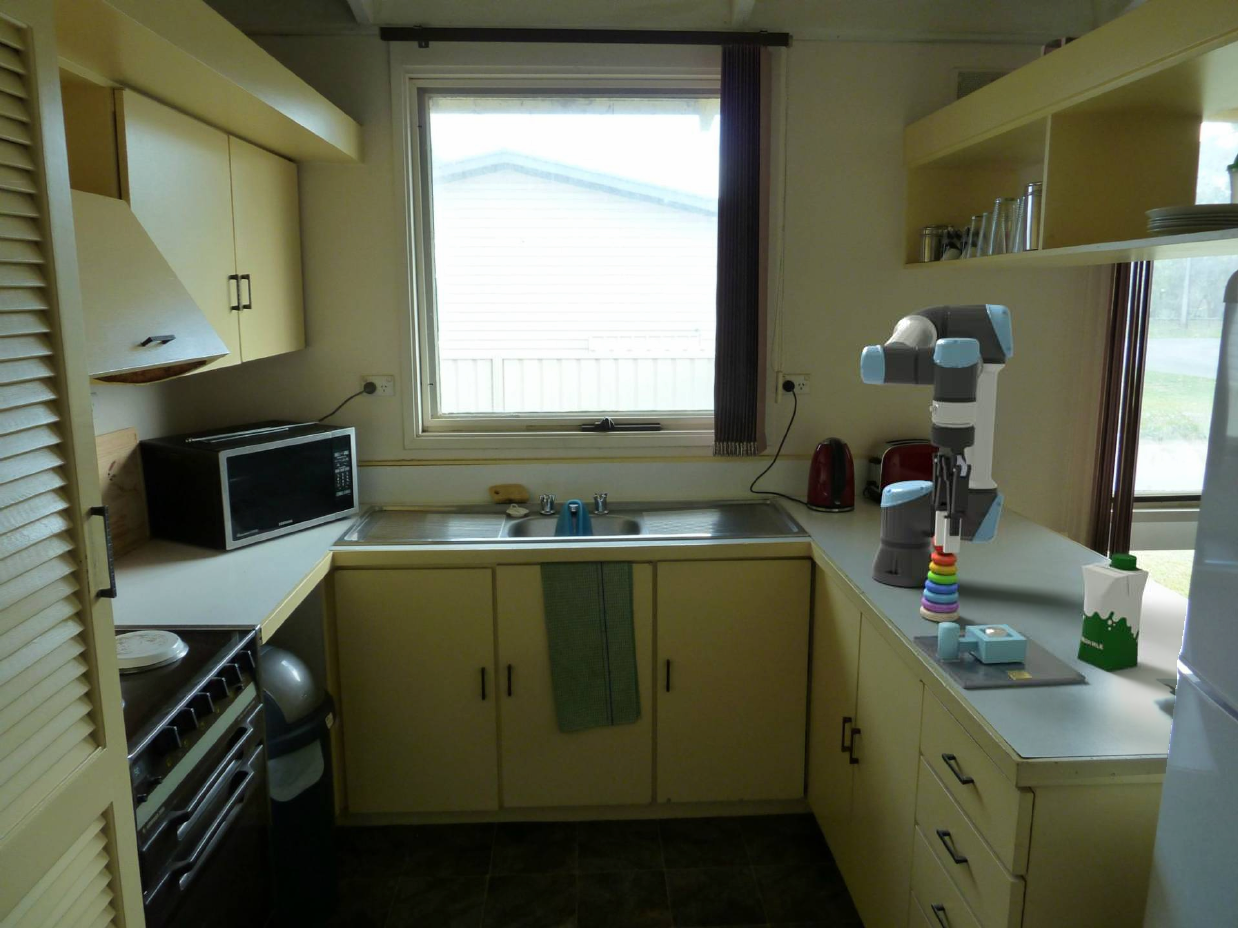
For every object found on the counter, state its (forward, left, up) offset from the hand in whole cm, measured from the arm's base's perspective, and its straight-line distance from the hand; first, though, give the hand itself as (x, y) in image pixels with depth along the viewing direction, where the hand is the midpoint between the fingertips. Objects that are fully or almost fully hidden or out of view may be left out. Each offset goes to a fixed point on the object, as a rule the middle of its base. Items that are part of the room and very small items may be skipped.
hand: (946, 548), depth 170 cm
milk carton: (+8, +28, -21) cm, 36 cm away
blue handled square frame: (+5, +5, -19) cm, 20 cm away
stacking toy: (-19, +8, -21) cm, 30 cm away
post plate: (+5, +8, -21) cm, 23 cm away
